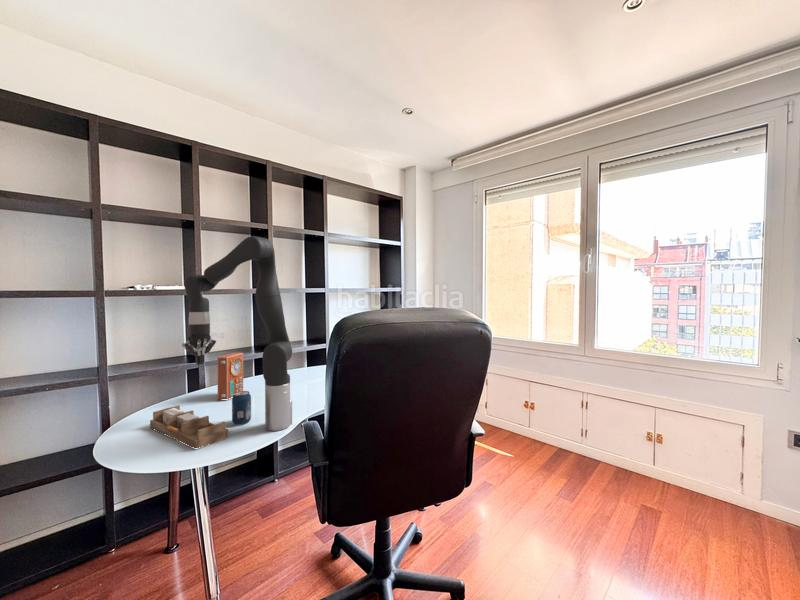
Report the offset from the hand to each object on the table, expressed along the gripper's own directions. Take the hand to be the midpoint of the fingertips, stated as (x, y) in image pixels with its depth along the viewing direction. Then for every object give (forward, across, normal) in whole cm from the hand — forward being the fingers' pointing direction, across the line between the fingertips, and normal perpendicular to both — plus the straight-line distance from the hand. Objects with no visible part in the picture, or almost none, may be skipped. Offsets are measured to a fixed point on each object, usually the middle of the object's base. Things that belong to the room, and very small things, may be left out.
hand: (199, 364), depth 134 cm
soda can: (+23, -7, +18) cm, 30 cm away
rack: (+23, +10, +10) cm, 27 cm away
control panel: (+23, -24, -18) cm, 38 cm away
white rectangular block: (+22, +9, +10) cm, 26 cm away
